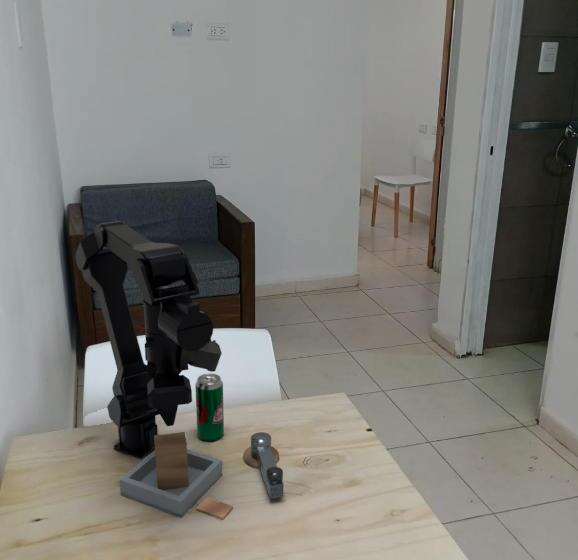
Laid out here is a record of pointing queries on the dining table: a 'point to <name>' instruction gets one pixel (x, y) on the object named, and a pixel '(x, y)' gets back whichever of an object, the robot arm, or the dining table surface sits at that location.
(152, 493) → the tray
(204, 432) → the soda can
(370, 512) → the dining table surface
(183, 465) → the block
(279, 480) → the lever
